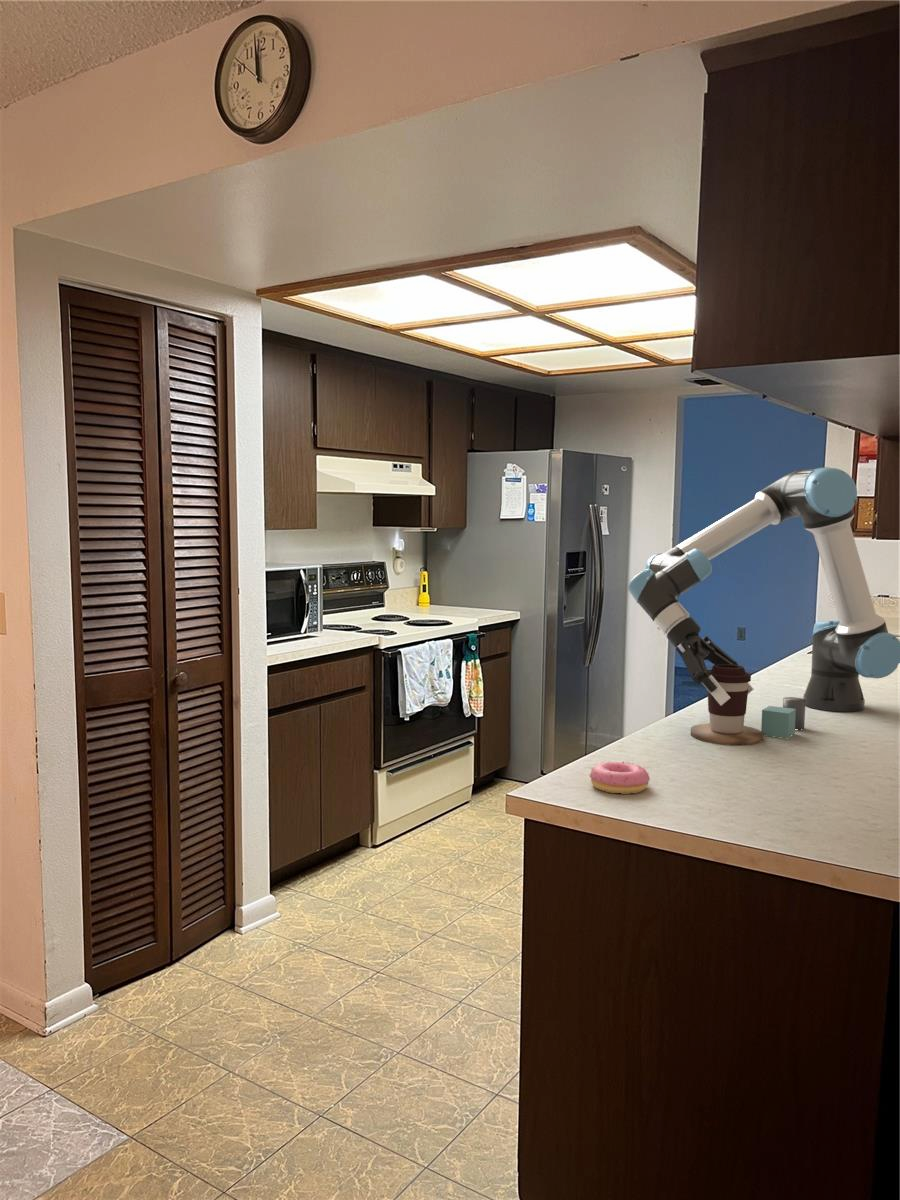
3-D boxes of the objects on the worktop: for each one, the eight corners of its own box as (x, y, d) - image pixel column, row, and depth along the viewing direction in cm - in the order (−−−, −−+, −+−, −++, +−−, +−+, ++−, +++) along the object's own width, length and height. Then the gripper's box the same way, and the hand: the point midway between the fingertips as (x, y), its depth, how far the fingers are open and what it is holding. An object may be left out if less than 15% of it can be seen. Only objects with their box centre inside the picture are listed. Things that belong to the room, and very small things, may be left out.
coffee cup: (699, 732, 206) (701, 667, 204) (709, 724, 214) (710, 661, 213) (744, 737, 201) (746, 671, 200) (752, 728, 210) (754, 664, 209)
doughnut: (661, 788, 168) (662, 766, 167) (625, 801, 160) (625, 777, 160) (613, 776, 176) (614, 755, 175) (577, 787, 168) (577, 765, 168)
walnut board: (739, 726, 217) (739, 721, 217) (777, 743, 202) (777, 737, 202) (678, 729, 214) (678, 724, 214) (712, 746, 198) (712, 741, 198)
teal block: (768, 730, 214) (769, 705, 213) (794, 734, 211) (795, 708, 210) (761, 735, 209) (762, 710, 208) (787, 739, 206) (789, 713, 205)
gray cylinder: (796, 725, 219) (797, 696, 219) (808, 729, 215) (809, 700, 214) (777, 726, 218) (778, 697, 218) (789, 730, 214) (791, 701, 213)
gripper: (690, 631, 225) (746, 698, 217) (642, 641, 206) (703, 716, 198) (711, 611, 221) (769, 679, 213) (664, 620, 202) (727, 695, 194)
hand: (737, 697), depth 205 cm, fingers open, 13 cm apart
